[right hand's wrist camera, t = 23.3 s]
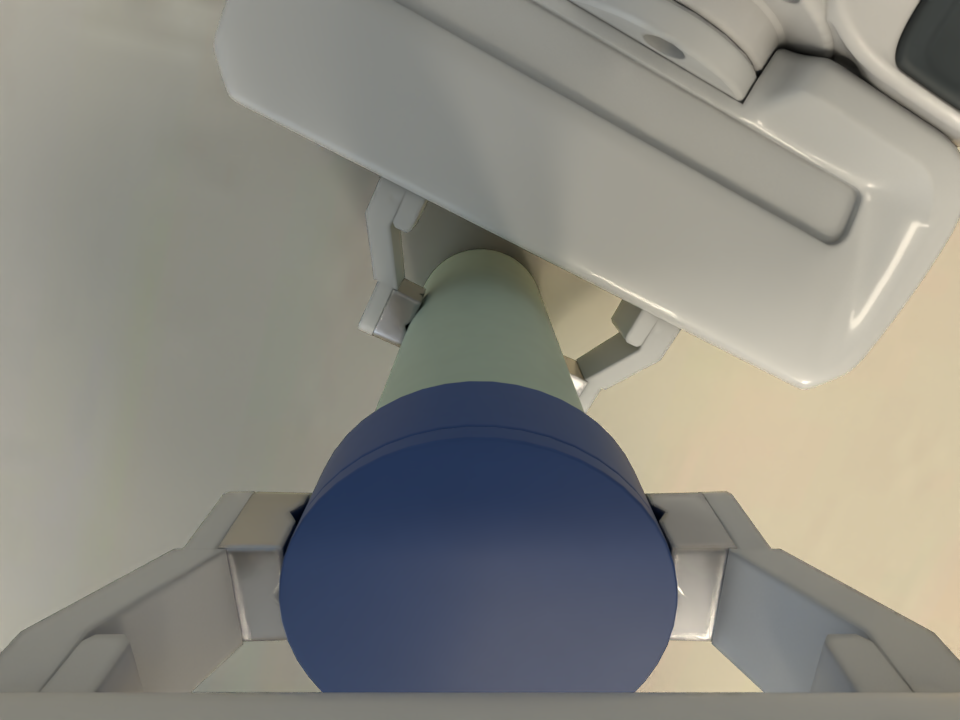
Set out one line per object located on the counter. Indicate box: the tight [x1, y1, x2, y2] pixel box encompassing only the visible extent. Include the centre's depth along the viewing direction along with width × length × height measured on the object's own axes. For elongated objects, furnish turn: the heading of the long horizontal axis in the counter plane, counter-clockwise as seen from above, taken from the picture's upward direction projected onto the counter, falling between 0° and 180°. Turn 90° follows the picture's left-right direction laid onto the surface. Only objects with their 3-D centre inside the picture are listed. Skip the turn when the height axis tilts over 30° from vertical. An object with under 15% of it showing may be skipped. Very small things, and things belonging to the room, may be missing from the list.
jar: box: [375, 249, 584, 412], centre depth 17 cm, size 5×5×15 cm
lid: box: [279, 381, 678, 693], centre depth 9 cm, size 6×6×2 cm
